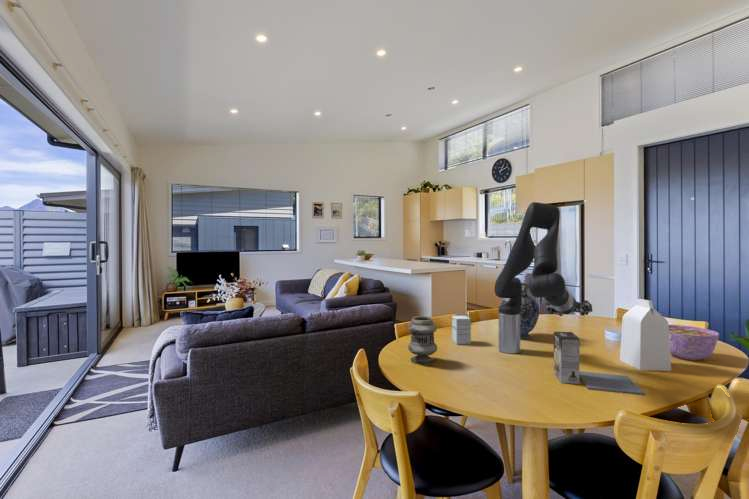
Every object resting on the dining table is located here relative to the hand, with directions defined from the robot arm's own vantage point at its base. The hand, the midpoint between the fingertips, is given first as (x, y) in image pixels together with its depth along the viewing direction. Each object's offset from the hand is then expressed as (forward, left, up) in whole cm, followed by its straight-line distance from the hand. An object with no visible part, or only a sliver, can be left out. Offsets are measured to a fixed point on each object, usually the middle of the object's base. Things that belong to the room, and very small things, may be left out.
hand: (573, 312), depth 136 cm
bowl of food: (+49, +33, -23) cm, 63 cm away
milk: (+28, +16, -23) cm, 40 cm away
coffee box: (-4, -9, -23) cm, 25 cm away
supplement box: (-44, +29, -23) cm, 57 cm away
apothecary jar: (-57, -4, -23) cm, 61 cm away
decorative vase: (-16, +48, -23) cm, 56 cm away
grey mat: (+9, -9, -22) cm, 26 cm away
